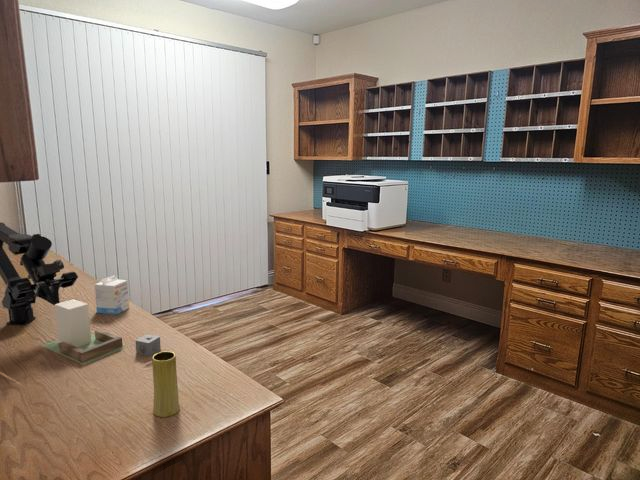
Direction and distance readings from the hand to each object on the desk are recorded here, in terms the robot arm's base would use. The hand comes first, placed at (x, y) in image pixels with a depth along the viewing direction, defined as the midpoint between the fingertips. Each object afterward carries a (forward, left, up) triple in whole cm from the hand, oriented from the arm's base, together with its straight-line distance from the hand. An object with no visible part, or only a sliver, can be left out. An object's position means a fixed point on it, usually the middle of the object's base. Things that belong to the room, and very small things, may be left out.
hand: (58, 305), depth 140 cm
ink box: (+5, +26, -12) cm, 29 cm away
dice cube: (+33, -9, -12) cm, 36 cm away
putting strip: (+11, -6, -11) cm, 17 cm away
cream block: (+7, -4, -11) cm, 13 cm away
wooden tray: (+14, -8, -11) cm, 19 cm away
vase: (+49, -38, -12) cm, 63 cm away
